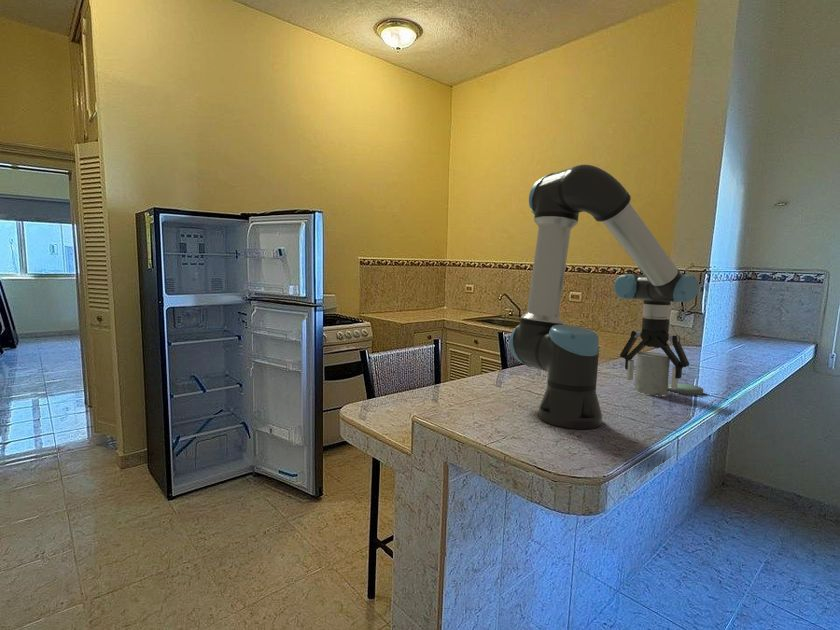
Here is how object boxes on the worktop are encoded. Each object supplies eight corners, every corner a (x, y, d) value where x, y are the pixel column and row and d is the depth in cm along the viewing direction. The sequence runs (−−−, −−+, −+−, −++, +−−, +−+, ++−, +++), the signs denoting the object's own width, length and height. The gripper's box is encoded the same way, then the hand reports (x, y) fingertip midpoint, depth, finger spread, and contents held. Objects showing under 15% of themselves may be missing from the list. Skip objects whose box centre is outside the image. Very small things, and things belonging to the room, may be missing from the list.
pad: (663, 392, 140) (663, 387, 140) (664, 385, 150) (664, 380, 150) (703, 397, 135) (704, 392, 135) (702, 390, 144) (702, 385, 144)
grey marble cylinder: (665, 398, 133) (668, 358, 132) (631, 392, 139) (633, 354, 138) (669, 392, 141) (672, 354, 140) (637, 387, 147) (639, 350, 146)
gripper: (704, 321, 131) (699, 390, 132) (622, 314, 150) (618, 375, 152) (695, 322, 126) (689, 394, 128) (611, 315, 145) (607, 377, 147)
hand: (651, 383), depth 140 cm, fingers open, 13 cm apart
